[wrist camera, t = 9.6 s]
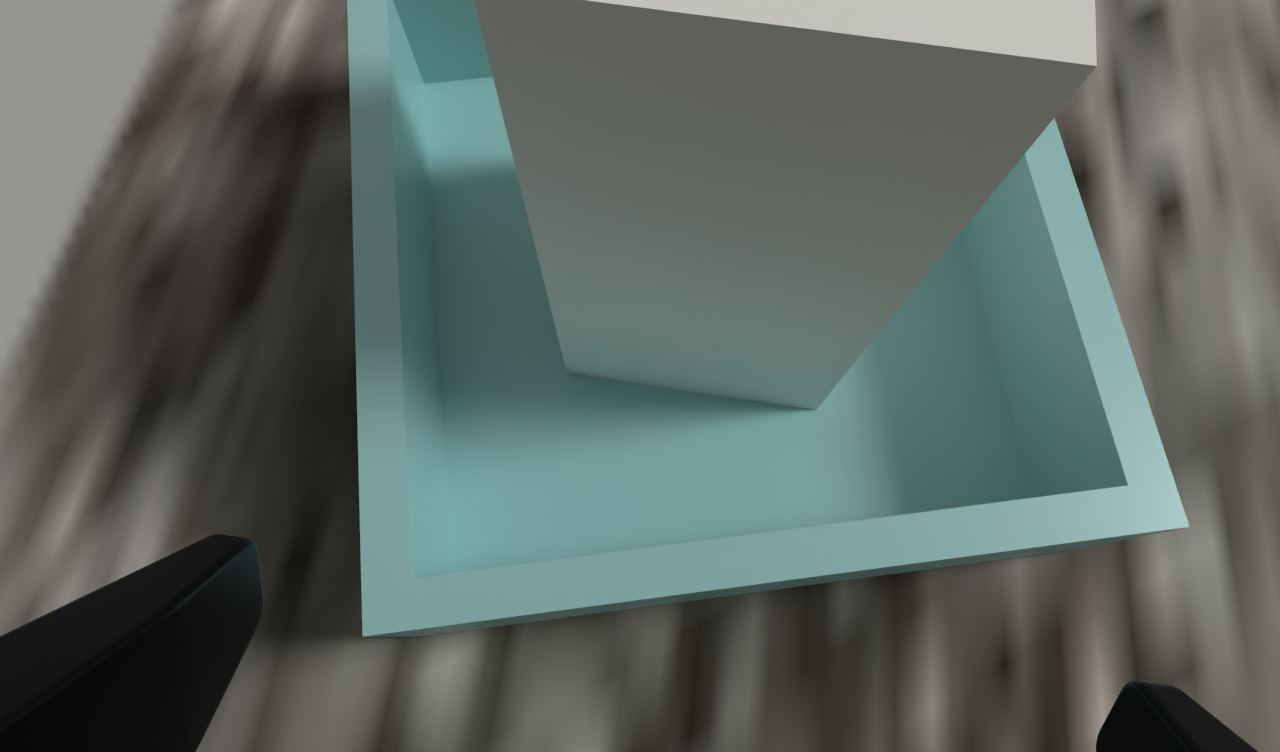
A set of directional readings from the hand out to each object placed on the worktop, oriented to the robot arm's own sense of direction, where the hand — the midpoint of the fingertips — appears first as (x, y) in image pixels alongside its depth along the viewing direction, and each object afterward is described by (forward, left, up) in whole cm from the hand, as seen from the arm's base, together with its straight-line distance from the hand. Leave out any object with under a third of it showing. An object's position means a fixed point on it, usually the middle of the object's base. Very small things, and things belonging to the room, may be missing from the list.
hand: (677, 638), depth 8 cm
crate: (+7, -2, -9) cm, 12 cm away
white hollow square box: (+7, -2, -8) cm, 11 cm away
